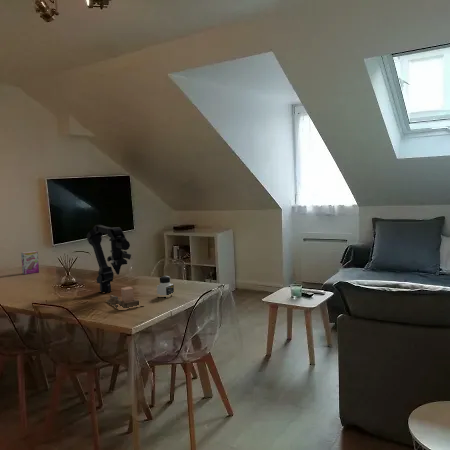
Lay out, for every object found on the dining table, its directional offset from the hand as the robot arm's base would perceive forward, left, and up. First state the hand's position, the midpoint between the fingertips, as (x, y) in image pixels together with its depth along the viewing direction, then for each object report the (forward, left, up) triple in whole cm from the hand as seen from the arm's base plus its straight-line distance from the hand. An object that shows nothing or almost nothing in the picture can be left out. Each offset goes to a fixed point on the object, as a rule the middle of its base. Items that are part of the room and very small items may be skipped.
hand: (117, 274), depth 273 cm
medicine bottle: (+27, +11, -13) cm, 32 cm away
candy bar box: (-113, +18, -13) cm, 115 cm away
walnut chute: (+16, -11, -13) cm, 23 cm away
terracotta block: (+21, -14, -12) cm, 28 cm away
